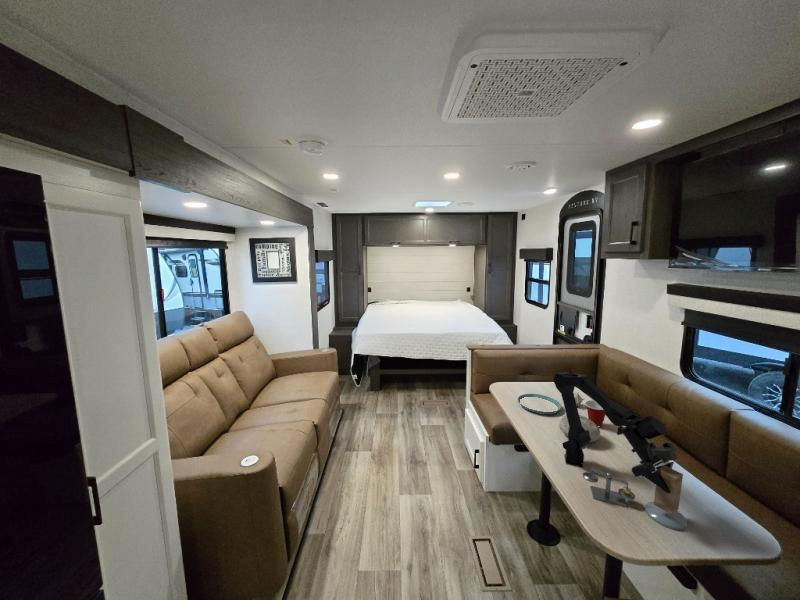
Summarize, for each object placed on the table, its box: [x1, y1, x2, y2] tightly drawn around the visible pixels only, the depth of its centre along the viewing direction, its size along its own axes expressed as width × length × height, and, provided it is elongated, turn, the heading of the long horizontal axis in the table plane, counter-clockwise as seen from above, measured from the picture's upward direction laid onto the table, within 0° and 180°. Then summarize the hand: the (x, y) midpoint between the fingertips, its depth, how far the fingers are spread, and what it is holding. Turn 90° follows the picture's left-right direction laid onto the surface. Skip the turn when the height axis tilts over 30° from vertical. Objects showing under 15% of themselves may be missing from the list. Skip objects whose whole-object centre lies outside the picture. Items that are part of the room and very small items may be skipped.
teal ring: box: [517, 393, 562, 415], centre depth 190 cm, size 24×24×3 cm
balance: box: [582, 467, 636, 507], centre depth 116 cm, size 17×6×10 cm, turn 68°
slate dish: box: [644, 501, 688, 531], centre depth 108 cm, size 11×11×1 cm
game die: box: [573, 392, 585, 406], centre depth 191 cm, size 9×8×10 cm
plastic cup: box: [584, 399, 606, 427], centre depth 168 cm, size 11×11×12 cm
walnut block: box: [653, 466, 684, 514], centre depth 107 cm, size 5×5×13 cm
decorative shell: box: [558, 414, 601, 443], centre depth 156 cm, size 18×18×10 cm
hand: (673, 490), depth 105 cm, fingers closed on walnut block, 5 cm apart
